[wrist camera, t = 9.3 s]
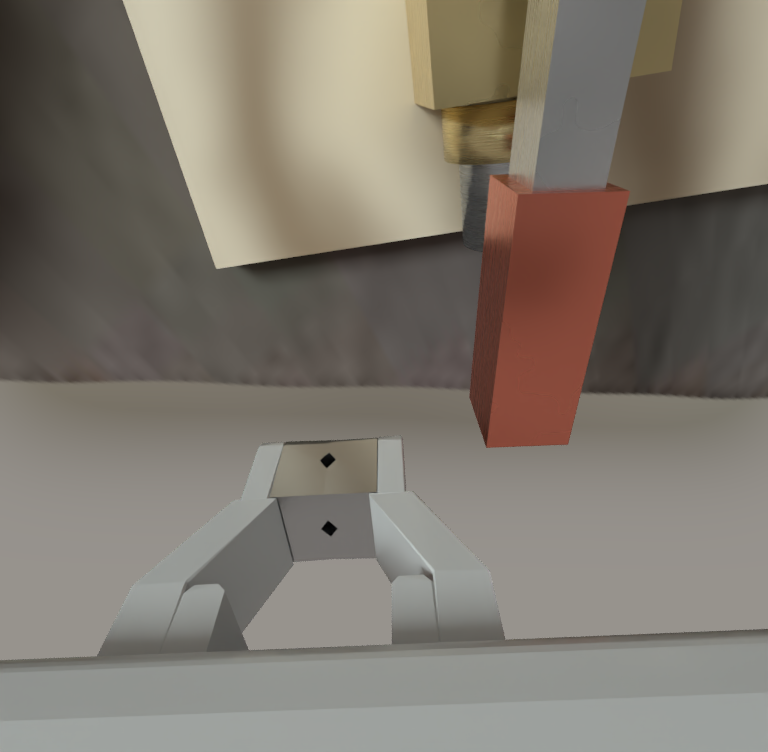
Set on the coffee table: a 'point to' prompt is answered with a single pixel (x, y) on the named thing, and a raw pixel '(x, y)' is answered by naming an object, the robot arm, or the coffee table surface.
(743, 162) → the base board
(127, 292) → the coffee table surface
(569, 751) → the robot arm
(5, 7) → the coffee table surface
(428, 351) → the coffee table surface
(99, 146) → the coffee table surface
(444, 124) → the valve body
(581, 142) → the valve lever
